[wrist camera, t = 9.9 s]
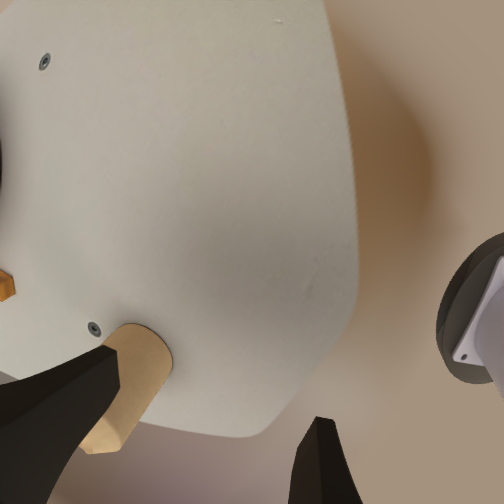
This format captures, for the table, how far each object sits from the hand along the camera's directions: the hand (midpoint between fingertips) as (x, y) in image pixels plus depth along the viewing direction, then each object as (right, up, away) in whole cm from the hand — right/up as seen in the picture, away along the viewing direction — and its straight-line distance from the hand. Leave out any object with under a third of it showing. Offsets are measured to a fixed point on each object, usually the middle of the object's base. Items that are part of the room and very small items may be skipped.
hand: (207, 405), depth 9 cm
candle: (-7, -3, +13) cm, 15 cm away
